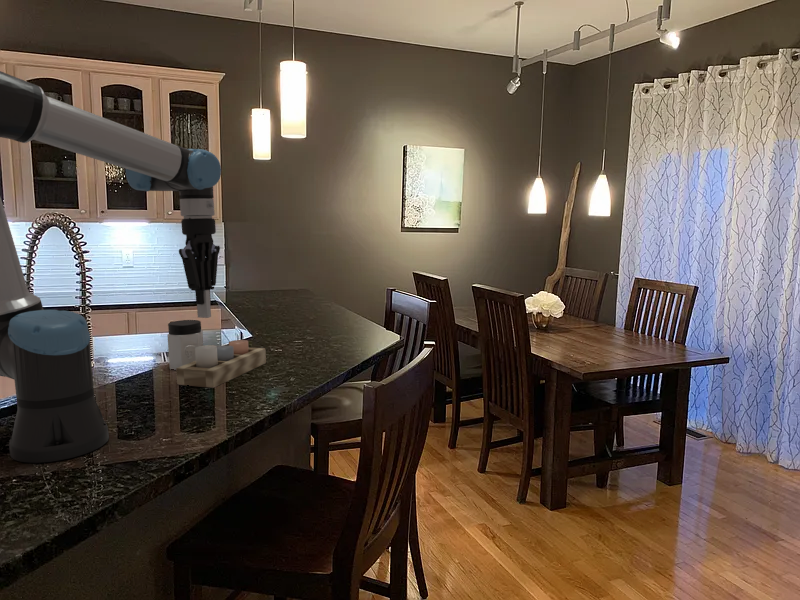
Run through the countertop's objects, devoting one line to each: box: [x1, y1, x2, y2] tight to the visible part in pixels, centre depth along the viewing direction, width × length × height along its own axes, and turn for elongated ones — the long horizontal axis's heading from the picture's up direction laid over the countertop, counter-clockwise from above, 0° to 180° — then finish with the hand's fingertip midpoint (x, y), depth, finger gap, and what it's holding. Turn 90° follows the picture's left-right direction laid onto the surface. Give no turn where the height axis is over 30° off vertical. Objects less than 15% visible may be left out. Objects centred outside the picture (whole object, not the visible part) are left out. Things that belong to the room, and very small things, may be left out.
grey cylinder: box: [216, 344, 234, 361], centre depth 153 cm, size 5×5×5 cm
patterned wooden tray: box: [175, 346, 267, 389], centre depth 153 cm, size 24×10×4 cm, turn 163°
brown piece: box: [228, 339, 249, 355], centre depth 159 cm, size 5×5×5 cm
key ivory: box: [195, 344, 218, 368], centre depth 146 cm, size 5×5×5 cm
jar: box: [167, 319, 204, 371], centre depth 159 cm, size 9×8×12 cm
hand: (204, 317), depth 144 cm, fingers closed
